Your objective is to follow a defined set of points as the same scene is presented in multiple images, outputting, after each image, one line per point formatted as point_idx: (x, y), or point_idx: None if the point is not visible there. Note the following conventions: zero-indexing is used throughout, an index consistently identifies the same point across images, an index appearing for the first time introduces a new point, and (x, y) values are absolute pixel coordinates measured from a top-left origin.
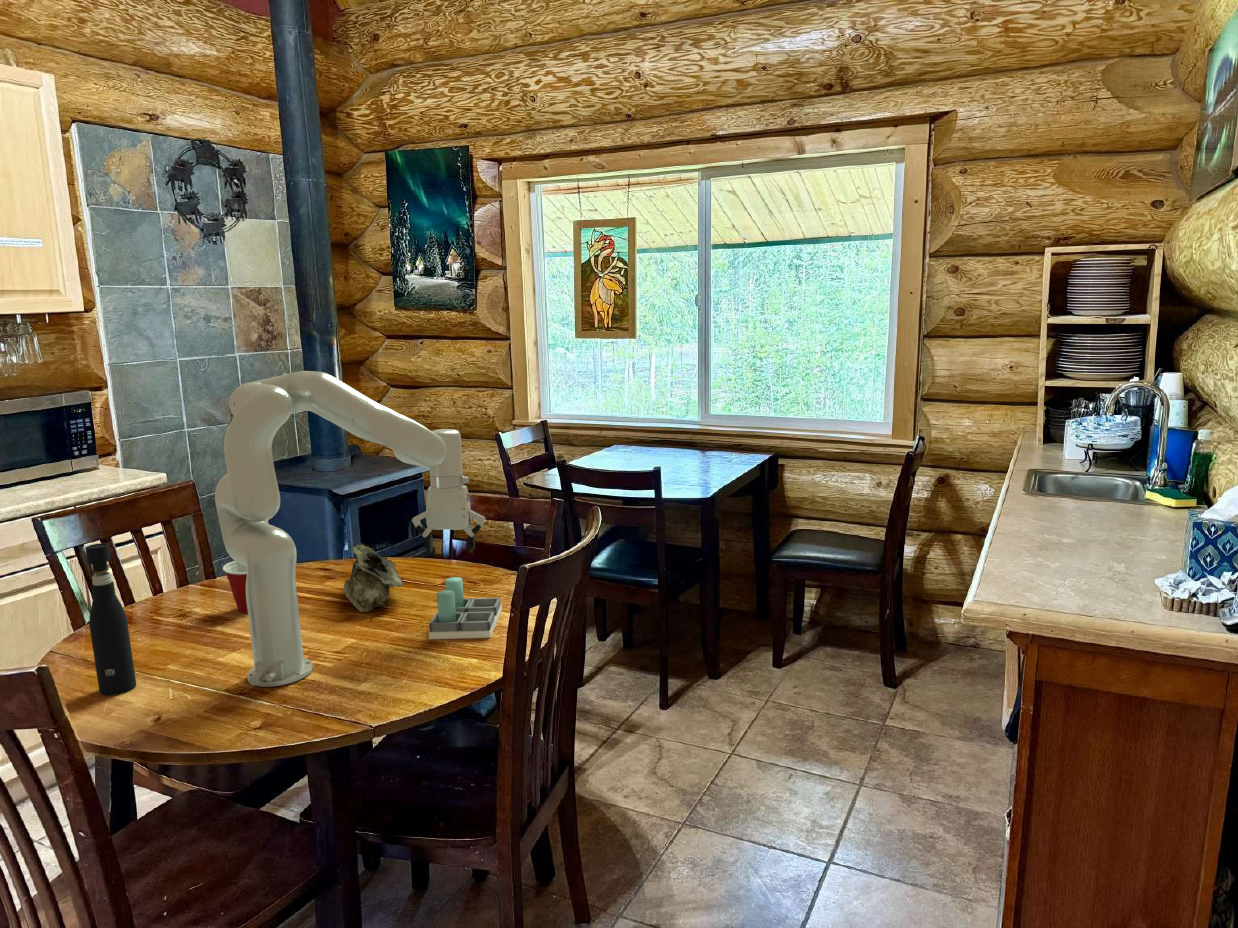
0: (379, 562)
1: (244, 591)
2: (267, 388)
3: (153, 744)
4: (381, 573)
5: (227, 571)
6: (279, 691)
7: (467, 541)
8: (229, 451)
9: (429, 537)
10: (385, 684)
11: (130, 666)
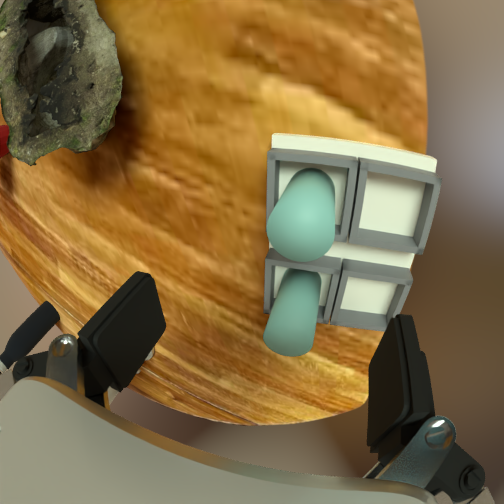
0: None
1: None
2: None
3: (130, 386)
4: (60, 97)
5: None
6: (151, 363)
7: (370, 425)
8: None
9: (118, 383)
10: (245, 388)
11: (47, 324)
